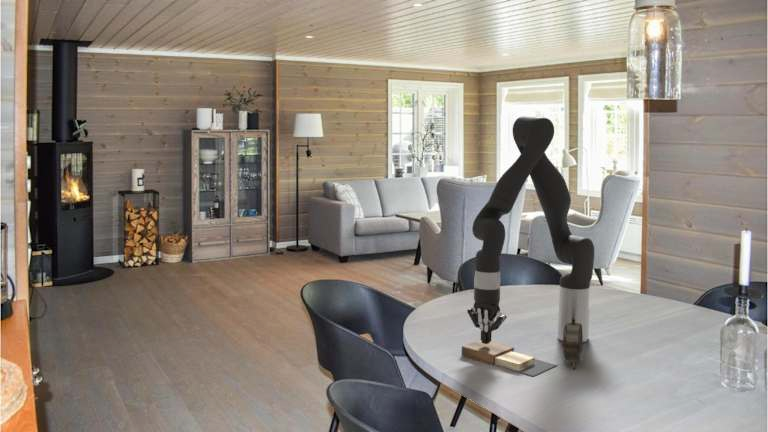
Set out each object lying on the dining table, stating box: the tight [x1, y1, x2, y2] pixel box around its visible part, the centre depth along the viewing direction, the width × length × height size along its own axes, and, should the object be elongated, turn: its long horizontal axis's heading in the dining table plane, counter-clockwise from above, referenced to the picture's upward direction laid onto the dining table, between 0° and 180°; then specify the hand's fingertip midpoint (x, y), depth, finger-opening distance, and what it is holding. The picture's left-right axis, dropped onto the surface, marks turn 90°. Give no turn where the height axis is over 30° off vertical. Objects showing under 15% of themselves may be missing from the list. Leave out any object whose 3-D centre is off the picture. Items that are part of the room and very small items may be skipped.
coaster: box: [494, 351, 536, 372], centre depth 199 cm, size 8×8×2 cm
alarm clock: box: [561, 309, 584, 370], centre depth 199 cm, size 11×5×16 cm, turn 160°
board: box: [461, 339, 515, 366], centre depth 206 cm, size 10×12×3 cm
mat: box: [493, 358, 558, 377], centre depth 199 cm, size 12×13×1 cm
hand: (485, 343), depth 206 cm, fingers closed
